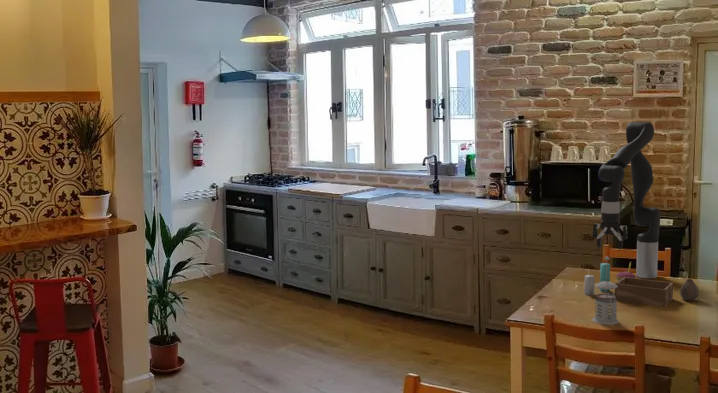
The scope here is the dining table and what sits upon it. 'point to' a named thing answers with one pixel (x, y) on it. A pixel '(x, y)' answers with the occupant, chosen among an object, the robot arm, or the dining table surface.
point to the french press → (606, 303)
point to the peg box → (644, 291)
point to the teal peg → (604, 274)
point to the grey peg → (589, 285)
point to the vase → (689, 290)
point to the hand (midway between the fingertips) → (609, 248)
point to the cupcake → (625, 274)
